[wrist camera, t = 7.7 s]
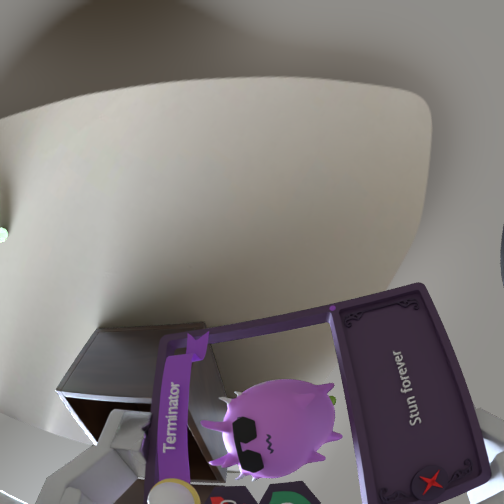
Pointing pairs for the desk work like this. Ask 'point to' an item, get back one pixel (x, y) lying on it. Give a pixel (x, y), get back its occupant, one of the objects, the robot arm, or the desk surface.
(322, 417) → the game card
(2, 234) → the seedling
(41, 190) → the desk surface
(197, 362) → the case
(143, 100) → the desk surface
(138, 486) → the cover
